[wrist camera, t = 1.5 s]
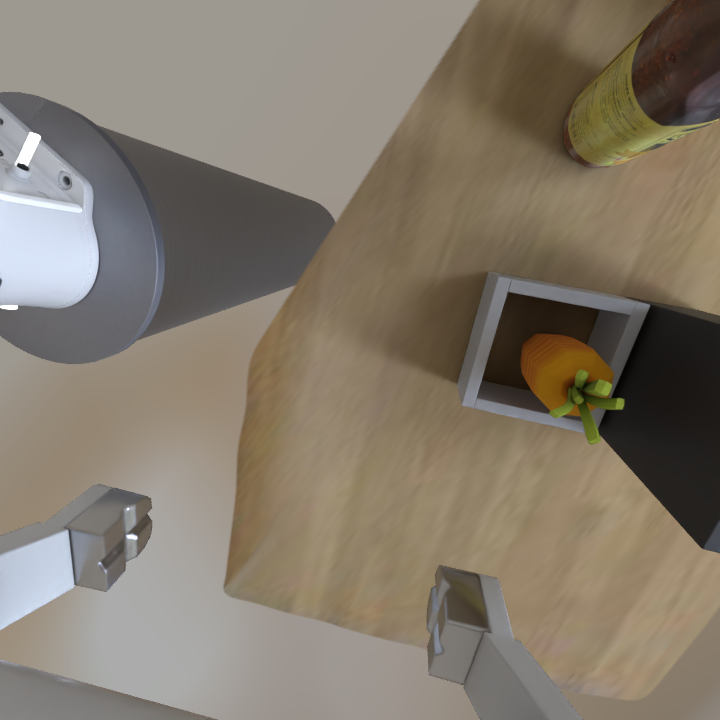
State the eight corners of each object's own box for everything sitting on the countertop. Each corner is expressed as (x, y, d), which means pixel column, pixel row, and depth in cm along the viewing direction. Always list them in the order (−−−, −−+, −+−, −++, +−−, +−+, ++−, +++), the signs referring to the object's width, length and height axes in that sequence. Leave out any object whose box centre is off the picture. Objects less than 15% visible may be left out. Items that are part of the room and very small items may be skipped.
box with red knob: (456, 384, 37) (482, 504, 20) (488, 271, 34) (550, 302, 17) (645, 425, 35) (843, 593, 19) (699, 310, 32) (1004, 389, 15)
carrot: (542, 377, 36) (618, 468, 21) (493, 355, 36) (537, 430, 22) (572, 330, 34) (677, 395, 20) (521, 307, 34) (589, 355, 20)
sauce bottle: (605, 187, 30) (898, 100, 12) (541, 141, 30) (732, -22, 11) (672, 104, 28) (1167, -169, 9) (603, 54, 28) (968, -326, 9)
